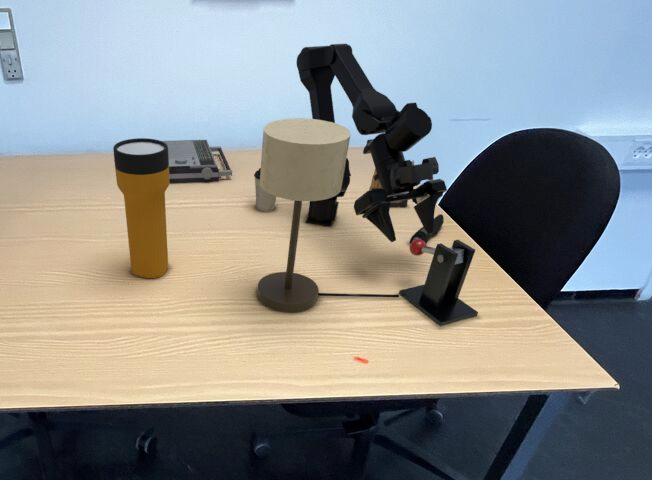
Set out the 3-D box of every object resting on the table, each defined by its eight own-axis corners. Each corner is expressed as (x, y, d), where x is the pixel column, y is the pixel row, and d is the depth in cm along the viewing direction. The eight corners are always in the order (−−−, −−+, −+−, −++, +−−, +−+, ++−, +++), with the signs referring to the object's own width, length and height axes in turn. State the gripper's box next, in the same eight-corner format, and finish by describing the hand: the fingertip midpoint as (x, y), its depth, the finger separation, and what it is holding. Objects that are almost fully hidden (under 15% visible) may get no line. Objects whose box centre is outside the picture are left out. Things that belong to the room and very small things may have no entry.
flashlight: (102, 149, 93) (128, 133, 100) (117, 276, 109) (138, 255, 116) (154, 156, 90) (176, 139, 97) (161, 285, 107) (180, 262, 114)
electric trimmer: (445, 227, 130) (449, 215, 128) (423, 249, 121) (426, 236, 119) (431, 223, 132) (434, 211, 130) (407, 244, 122) (410, 232, 120)
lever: (405, 255, 105) (406, 239, 103) (418, 252, 106) (419, 236, 104) (451, 267, 94) (453, 250, 93) (465, 264, 95) (466, 246, 94)
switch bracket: (398, 295, 105) (414, 236, 97) (433, 286, 108) (451, 229, 100) (439, 327, 97) (460, 266, 89) (476, 317, 100) (500, 257, 91)
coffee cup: (248, 210, 136) (250, 172, 129) (256, 201, 141) (259, 163, 134) (273, 215, 134) (277, 176, 127) (281, 205, 139) (285, 167, 132)
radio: (157, 138, 164) (220, 137, 166) (158, 155, 167) (220, 153, 170) (162, 165, 146) (233, 163, 148) (163, 184, 149) (232, 181, 151)
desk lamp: (253, 315, 99) (265, 143, 79) (250, 277, 110) (261, 117, 90) (408, 318, 99) (459, 147, 79) (390, 279, 110) (431, 120, 90)
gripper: (374, 148, 94) (399, 230, 93) (454, 137, 100) (479, 214, 99) (342, 176, 105) (365, 250, 104) (417, 165, 110) (438, 235, 110)
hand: (412, 237), depth 104 cm, fingers open, 9 cm apart
